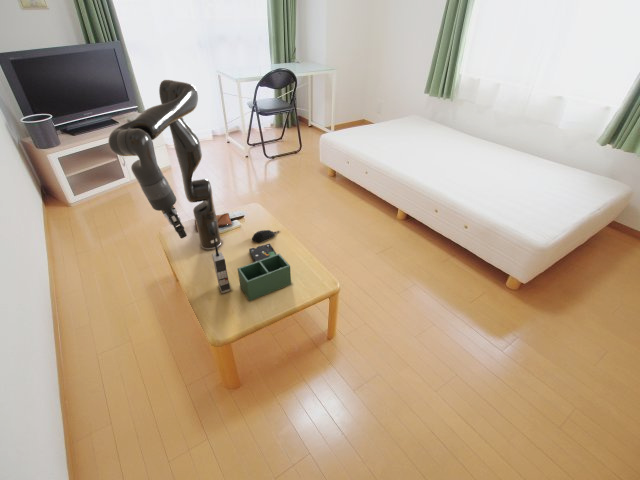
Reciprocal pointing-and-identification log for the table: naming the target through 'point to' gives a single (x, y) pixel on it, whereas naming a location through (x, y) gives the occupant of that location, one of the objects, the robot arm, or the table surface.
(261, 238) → the gaming mouse
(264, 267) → the caddy
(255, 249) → the disk drive
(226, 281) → the vintage mobile phone
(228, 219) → the sunglasses case
